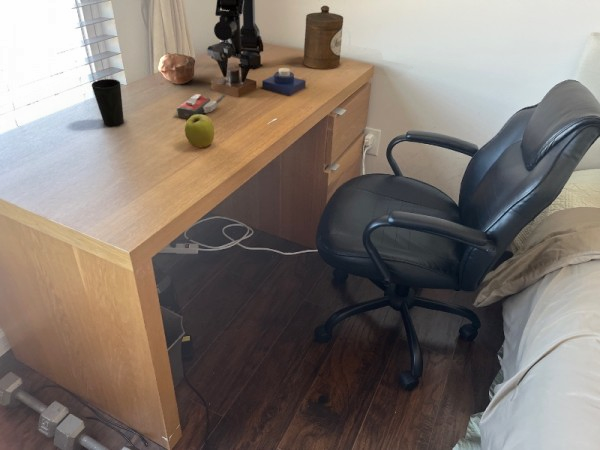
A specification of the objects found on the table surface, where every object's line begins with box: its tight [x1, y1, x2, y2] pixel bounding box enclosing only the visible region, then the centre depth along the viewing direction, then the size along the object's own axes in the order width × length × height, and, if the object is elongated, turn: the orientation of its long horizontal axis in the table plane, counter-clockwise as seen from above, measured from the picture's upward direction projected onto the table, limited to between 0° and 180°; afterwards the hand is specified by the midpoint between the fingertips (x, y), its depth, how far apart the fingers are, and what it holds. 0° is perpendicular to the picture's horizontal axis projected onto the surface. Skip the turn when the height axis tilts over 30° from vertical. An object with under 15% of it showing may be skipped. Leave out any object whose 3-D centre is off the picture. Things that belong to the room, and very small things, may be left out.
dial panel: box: [211, 74, 257, 98], centre depth 167 cm, size 12×10×3 cm
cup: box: [91, 78, 125, 128], centre depth 139 cm, size 8×8×12 cm
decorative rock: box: [157, 52, 196, 85], centre depth 170 cm, size 13×11×10 cm
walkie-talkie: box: [176, 93, 226, 120], centre depth 152 cm, size 9×4×20 cm
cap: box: [278, 67, 291, 77], centre depth 168 cm, size 4×4×2 cm
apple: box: [184, 114, 215, 148], centre depth 130 cm, size 8×8×10 cm
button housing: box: [261, 71, 307, 97], centre depth 170 cm, size 12×10×5 cm
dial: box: [227, 67, 241, 83], centre depth 165 cm, size 4×4×4 cm
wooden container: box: [303, 5, 344, 70], centre depth 189 cm, size 15×15×22 cm
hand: (234, 79), depth 166 cm, fingers open, 8 cm apart
